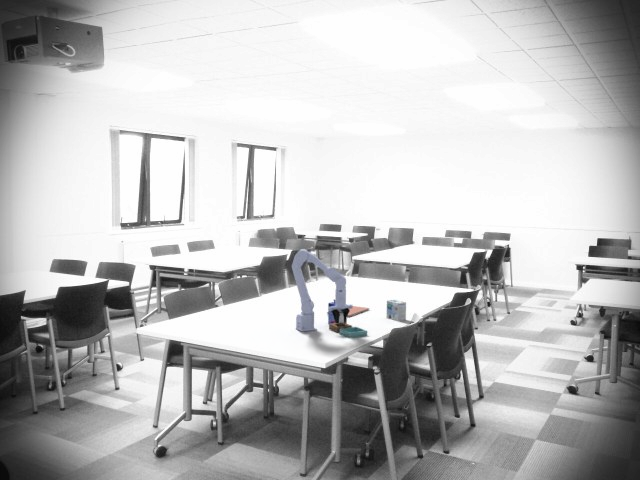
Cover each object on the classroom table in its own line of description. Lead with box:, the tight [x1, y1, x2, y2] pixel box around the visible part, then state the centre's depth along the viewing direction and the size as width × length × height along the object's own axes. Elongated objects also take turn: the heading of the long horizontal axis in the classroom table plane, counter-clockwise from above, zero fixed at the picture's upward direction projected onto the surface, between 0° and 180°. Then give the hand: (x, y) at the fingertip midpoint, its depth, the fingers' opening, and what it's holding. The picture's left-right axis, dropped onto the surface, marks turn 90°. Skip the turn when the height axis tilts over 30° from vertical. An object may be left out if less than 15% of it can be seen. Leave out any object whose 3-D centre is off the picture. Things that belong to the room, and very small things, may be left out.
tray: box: [339, 326, 368, 339], centre depth 299 cm, size 11×11×2 cm
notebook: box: [326, 305, 370, 318], centre depth 358 cm, size 27×17×2 cm, turn 148°
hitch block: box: [328, 323, 353, 334], centre depth 308 cm, size 9×9×3 cm
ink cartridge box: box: [327, 299, 348, 325], centre depth 322 cm, size 10×6×14 cm, turn 51°
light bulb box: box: [386, 299, 407, 322], centre depth 338 cm, size 11×7×11 cm, turn 33°
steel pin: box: [337, 311, 344, 326], centre depth 308 cm, size 4×4×10 cm
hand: (340, 322), depth 308 cm, fingers closed on steel pin, 4 cm apart
